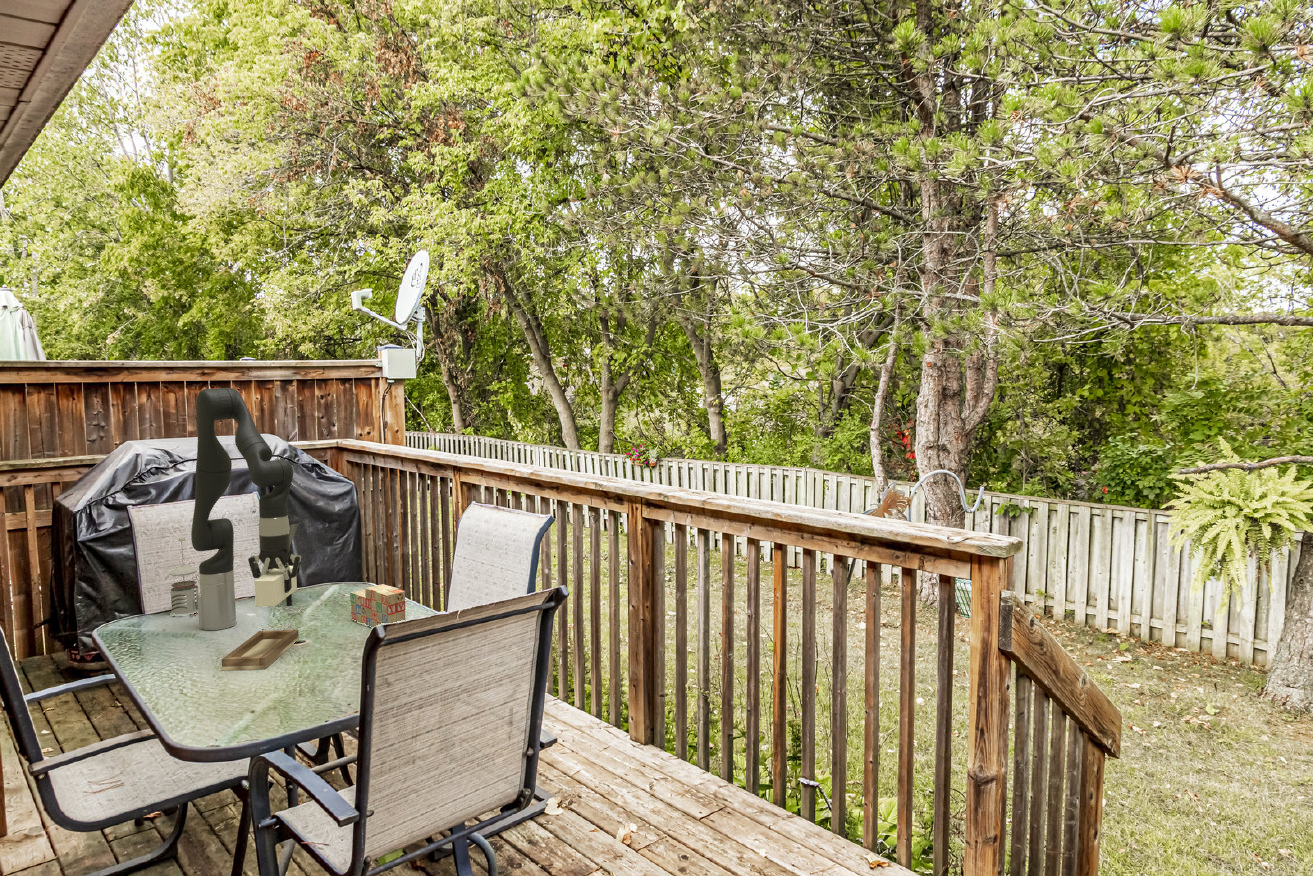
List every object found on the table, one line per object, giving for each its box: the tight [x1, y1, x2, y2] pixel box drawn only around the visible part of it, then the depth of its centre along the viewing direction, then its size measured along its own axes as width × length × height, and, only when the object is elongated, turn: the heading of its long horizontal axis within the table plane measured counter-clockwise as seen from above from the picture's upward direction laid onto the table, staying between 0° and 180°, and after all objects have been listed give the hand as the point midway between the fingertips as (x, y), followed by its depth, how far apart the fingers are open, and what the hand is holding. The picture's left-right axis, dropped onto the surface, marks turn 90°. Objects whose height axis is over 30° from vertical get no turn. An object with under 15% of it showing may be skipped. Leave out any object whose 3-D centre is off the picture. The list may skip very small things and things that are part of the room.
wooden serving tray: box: [221, 629, 300, 671], centre depth 218 cm, size 11×23×3 cm, turn 4°
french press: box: [168, 536, 201, 614], centre depth 256 cm, size 10×12×25 cm
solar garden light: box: [285, 514, 306, 607], centre depth 264 cm, size 12×12×30 cm
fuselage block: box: [254, 565, 298, 608], centre depth 219 cm, size 5×16×7 cm, turn 5°
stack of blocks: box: [349, 583, 406, 627], centre depth 242 cm, size 21×6×12 cm, turn 50°
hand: (276, 592), depth 219 cm, fingers closed on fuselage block, 5 cm apart
